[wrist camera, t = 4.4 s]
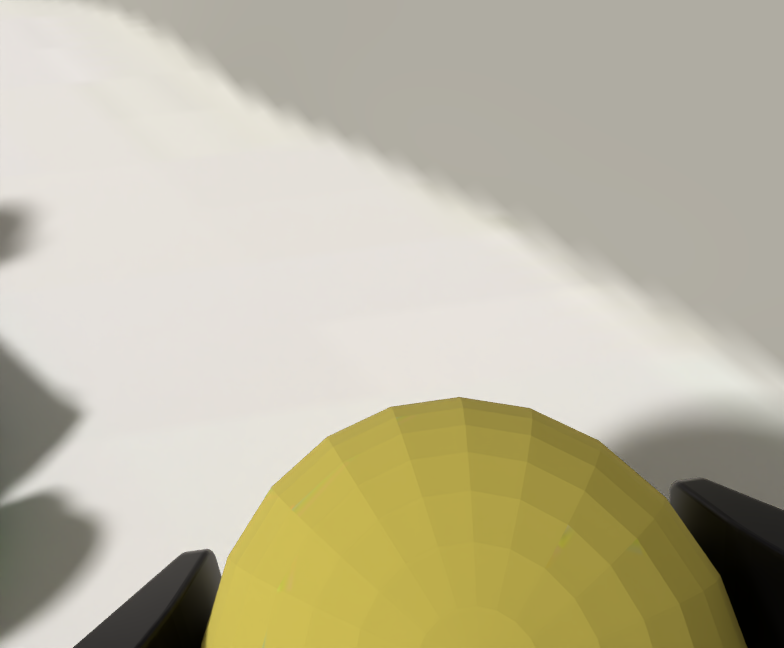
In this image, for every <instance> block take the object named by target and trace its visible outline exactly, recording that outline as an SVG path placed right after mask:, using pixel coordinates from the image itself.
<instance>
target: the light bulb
mask: <svg viewBox="0 0 784 648" xmlns="http://www.w3.org/2000/svg"><path fill="white" fill-rule="evenodd" d="M201 648H747V645H746V643H745V640H744V637H743V635H742V632H741V629H740V627H739V624H738V621H737V619H736V616H735V613H734V611H733V608H732V605H731V603H730V600H729V597H728V595H727V592H726V589H725V587H724V584H723V581H722V579H721V576H720V574H719V573H718V572H717V570H716V569H715V567H714V566H713V564H712V563H711V562H710V560H709V559H708V557H707V556H706V554H705V553H704V551H703V550H702V549H701V547H700V546H699V544H698V543H697V541H696V540H695V539H694V537H693V536H692V534H691V533H690V531H689V530H688V529H687V527H686V526H685V524H684V523H683V521H682V520H681V519H680V517H679V516H678V514H677V513H676V511H675V510H674V509H673V507H672V506H671V504H670V503H669V501H668V500H667V499H666V497H664V496H663V495H662V494H661V493H660V492H659V491H657V490H656V489H655V488H654V487H653V486H651V485H650V484H649V483H648V482H647V481H646V480H644V479H643V478H642V477H641V476H640V475H639V474H637V473H636V472H635V471H634V470H633V469H632V468H630V467H629V466H628V465H627V464H626V463H625V462H623V461H622V460H621V459H620V458H619V457H617V456H616V455H615V454H614V453H613V452H612V451H610V450H609V449H608V448H607V447H606V446H605V445H603V444H602V443H601V442H600V441H599V440H596V439H594V438H592V437H590V436H588V435H586V434H584V433H581V432H579V431H577V430H575V429H573V428H571V427H569V426H567V425H564V424H562V423H560V422H558V421H556V420H554V419H552V418H550V417H547V416H545V415H543V414H541V413H539V412H537V411H535V410H532V409H530V408H525V407H519V406H513V405H506V404H500V403H493V402H487V401H481V400H474V399H468V398H461V397H457V398H450V399H443V400H436V401H429V402H422V403H415V404H408V405H401V406H394V407H390V408H387V409H385V410H383V411H381V412H379V413H377V414H375V415H373V416H370V417H368V418H366V419H364V420H362V421H360V422H358V423H356V424H354V425H351V426H349V427H347V428H345V429H343V430H341V431H339V432H337V433H334V434H332V435H330V436H328V437H327V438H325V439H324V440H323V441H322V442H321V443H320V444H319V445H318V446H317V447H315V448H314V449H313V450H312V451H311V452H310V453H309V454H308V455H307V456H305V457H304V458H303V459H302V460H301V461H300V462H299V463H298V464H297V465H295V466H294V467H293V468H292V469H291V470H290V471H289V472H288V473H287V474H285V475H284V476H283V477H282V478H281V479H280V480H279V481H278V482H277V483H275V484H274V485H273V486H272V487H271V489H270V490H269V492H268V494H267V495H266V497H265V498H264V500H263V502H262V503H261V505H260V506H259V508H258V509H257V511H256V513H255V514H254V516H253V517H252V519H251V521H250V522H249V524H248V525H247V527H246V529H245V530H244V532H243V533H242V535H241V537H240V538H239V540H238V541H237V543H236V545H235V546H234V548H233V549H232V551H231V553H230V554H229V556H228V558H227V561H226V565H225V568H224V571H223V575H222V578H221V581H220V584H219V588H218V591H217V594H216V597H215V601H214V604H213V607H212V610H211V614H210V617H209V620H208V624H207V627H206V630H205V633H204V637H203V640H202V643H201Z"/></svg>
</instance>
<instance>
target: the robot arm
mask: <svg viewBox="0 0 784 648" xmlns="http://www.w3.org/2000/svg"><path fill="white" fill-rule="evenodd" d="M670 504H671V506H672V507H673V509H674V510H675V511H676V513H677V514H678V516H679V517H680V519H681V520H682V521H683V523H684V524H685V526H686V527H687V529H688V530H689V531H690V533H691V534H692V536H693V537H694V539H695V540H696V541H697V543H698V544H699V546H700V547H701V549H702V550H703V551H704V553H705V554H706V556H707V557H708V559H709V560H710V562H711V563H712V564H713V566H714V567H715V569H716V570H717V572H718V573H719V574H720V576H721V579H722V581H723V584H724V587H725V589H726V592H727V595H728V597H729V600H730V603H731V605H732V608H733V611H734V613H735V616H736V619H737V621H738V624H739V627H740V629H741V632H742V635H743V637H744V640H745V643H746V645H747V648H784V510H781V509H779V508H776V507H774V506H771V505H769V504H766V503H764V502H761V501H759V500H757V499H754V498H752V497H749V496H747V495H744V494H742V493H739V492H737V491H734V490H732V489H729V488H727V487H724V486H722V485H719V484H717V483H714V482H712V481H709V480H707V479H704V478H692V479H685V480H679V481H675V482H674V483H673V484H672V485H671V489H670ZM221 578H222V577H221V574H220V570H219V567H218V563H217V560H216V557H215V555H214V553H213V551H211V550H209V549H203V550H196V551H189V552H185V553H182V554H181V555H180V556H178V557H177V558H176V559H175V560H174V561H172V562H171V563H170V564H169V565H168V566H167V567H166V568H164V569H163V570H162V571H161V572H160V573H159V574H157V575H156V576H155V577H154V578H153V579H152V580H151V581H149V582H148V583H147V584H146V585H145V586H144V587H142V588H141V589H140V590H139V591H138V592H137V593H136V594H134V595H133V596H132V597H131V598H130V599H129V600H127V601H126V602H125V603H124V604H123V605H122V606H120V607H119V608H118V609H117V610H116V611H115V612H114V613H112V614H111V615H110V616H109V617H108V618H107V619H105V620H104V621H103V622H102V623H101V624H100V625H99V626H97V627H96V628H95V629H94V630H93V631H92V632H90V633H89V634H88V635H87V636H86V637H85V638H84V639H82V640H81V641H80V642H79V643H78V644H77V645H75V646H74V647H73V648H201V643H202V640H203V637H204V633H205V630H206V627H207V624H208V620H209V617H210V614H211V610H212V607H213V604H214V601H215V597H216V594H217V591H218V588H219V584H220V581H221Z"/></svg>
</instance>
